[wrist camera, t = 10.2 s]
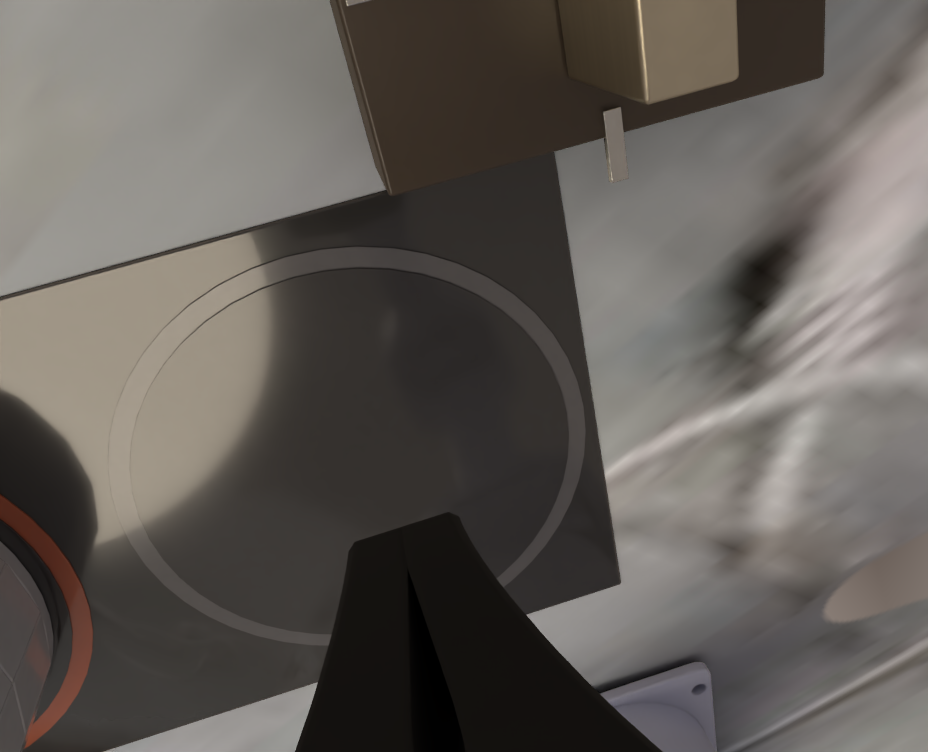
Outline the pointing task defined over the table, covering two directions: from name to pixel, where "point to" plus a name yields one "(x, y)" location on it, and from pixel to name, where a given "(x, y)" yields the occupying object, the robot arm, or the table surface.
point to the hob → (291, 440)
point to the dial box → (526, 82)
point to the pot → (21, 651)
